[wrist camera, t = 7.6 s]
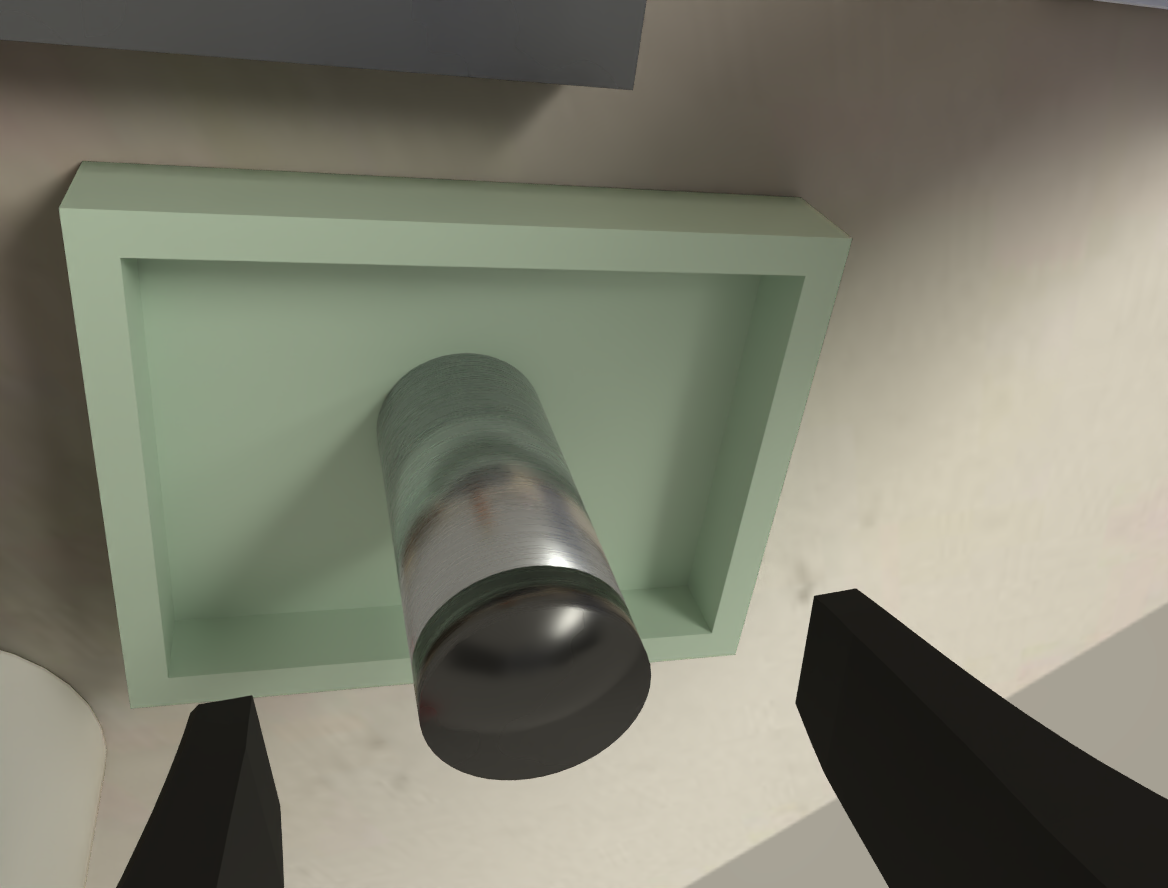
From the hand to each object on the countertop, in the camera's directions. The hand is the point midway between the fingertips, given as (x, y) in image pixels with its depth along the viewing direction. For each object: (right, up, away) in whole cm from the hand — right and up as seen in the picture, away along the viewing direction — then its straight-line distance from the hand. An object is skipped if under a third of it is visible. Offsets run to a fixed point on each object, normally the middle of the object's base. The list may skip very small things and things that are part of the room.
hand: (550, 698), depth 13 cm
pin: (-2, +4, +9) cm, 10 cm away
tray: (-2, +4, +10) cm, 11 cm away
